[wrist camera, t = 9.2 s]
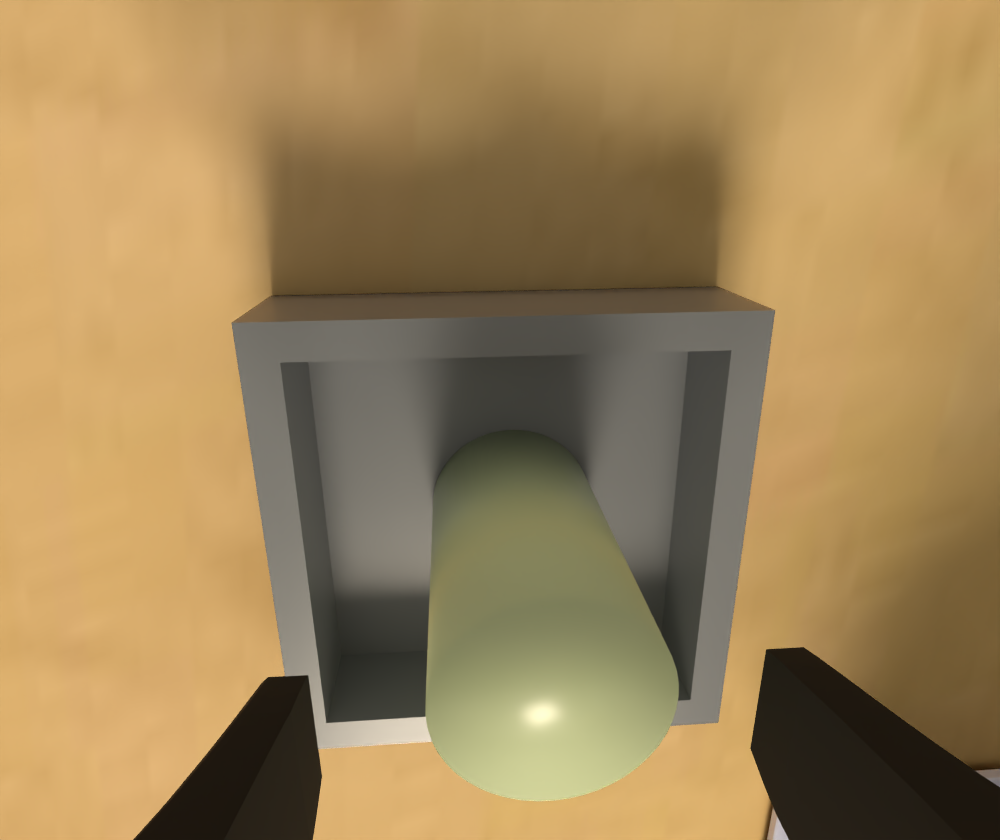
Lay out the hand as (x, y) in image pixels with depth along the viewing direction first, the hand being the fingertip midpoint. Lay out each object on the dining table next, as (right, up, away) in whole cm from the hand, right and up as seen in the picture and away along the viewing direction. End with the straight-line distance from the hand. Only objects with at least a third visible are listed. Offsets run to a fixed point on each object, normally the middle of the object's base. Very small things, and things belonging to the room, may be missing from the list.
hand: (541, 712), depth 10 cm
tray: (-1, +3, +7) cm, 8 cm away
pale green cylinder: (0, +2, +7) cm, 7 cm away
